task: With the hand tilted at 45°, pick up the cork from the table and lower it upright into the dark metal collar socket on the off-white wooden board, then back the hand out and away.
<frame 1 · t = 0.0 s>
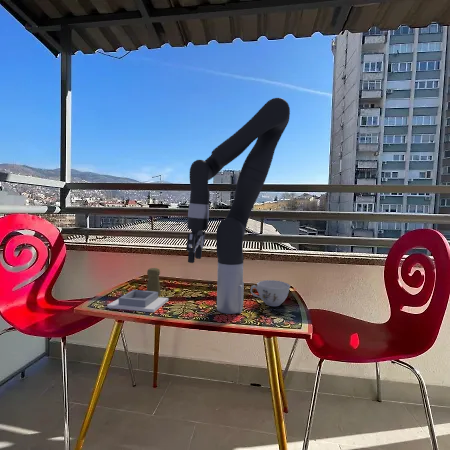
hand: (194, 260, 101), 17 cm above the table, tool pointing down, fingers open, 8 cm apart
cork: (153, 294, 116), on the table
teacup: (269, 304, 107), on the table
socket board: (139, 303, 104), on the table
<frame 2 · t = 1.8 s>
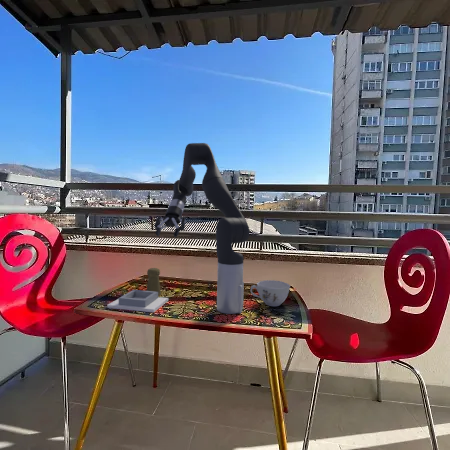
hand: (166, 235, 127), 23 cm above the table, tool tilted 45°, fingers open, 8 cm apart
nothing on the table moved.
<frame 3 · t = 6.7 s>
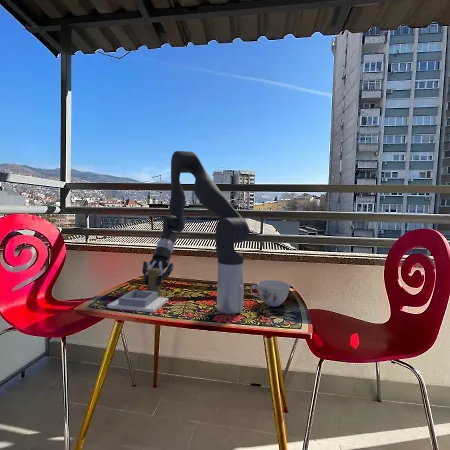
hand: (151, 284, 113), 5 cm above the table, tool tilted 45°, fingers closed on cork, 4 cm apart
cork: (153, 294, 116), on the table, touching gripper
everything else where it was.
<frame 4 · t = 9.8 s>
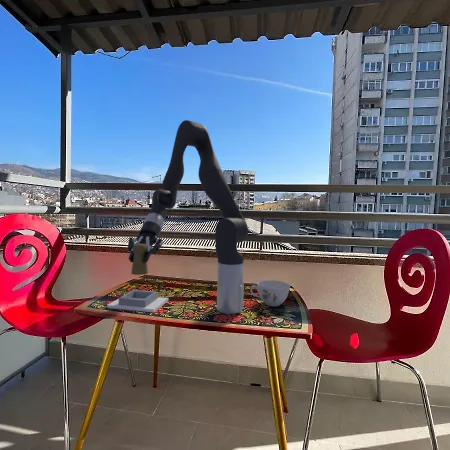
hand: (137, 261, 101), 16 cm above the table, tool tilted 45°, fingers closed on cork, 4 cm apart
cork: (139, 273, 104), point 12 cm above the table, touching gripper
everything else where it was.
when the fingers open (7 cm above the table, at t = 13.2 s): cork stays where it is, resting on socket board.
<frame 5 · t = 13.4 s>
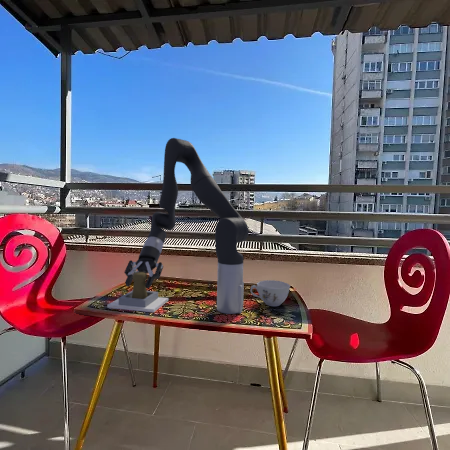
hand: (137, 286, 102), 7 cm above the table, tool tilted 45°, fingers open, 7 cm apart
cork: (139, 301, 104), point 1 cm above the table, touching socket board
everything else where it was.
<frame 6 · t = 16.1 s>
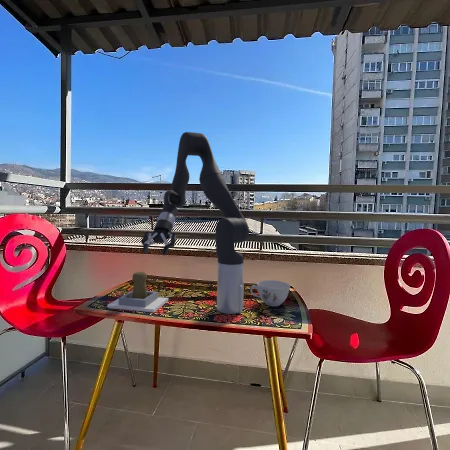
hand: (153, 253, 114), 17 cm above the table, tool tilted 45°, fingers open, 8 cm apart
nothing on the table moved.
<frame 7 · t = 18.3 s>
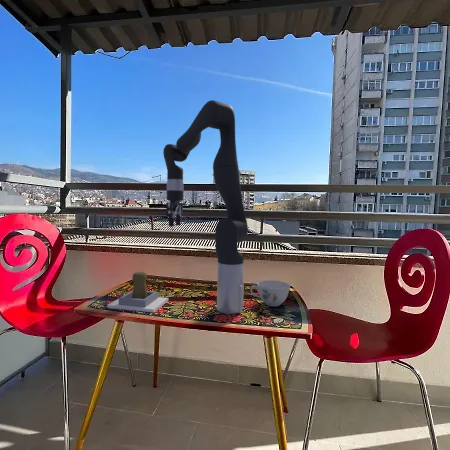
hand: (174, 225, 126), 28 cm above the table, tool pointing down, fingers open, 8 cm apart
nothing on the table moved.
at the end: cork 0.2 cm off-centre on the socket board, point 0.8 cm above the socket board's base; cork tilted 0°; the gripper is holding nothing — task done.
